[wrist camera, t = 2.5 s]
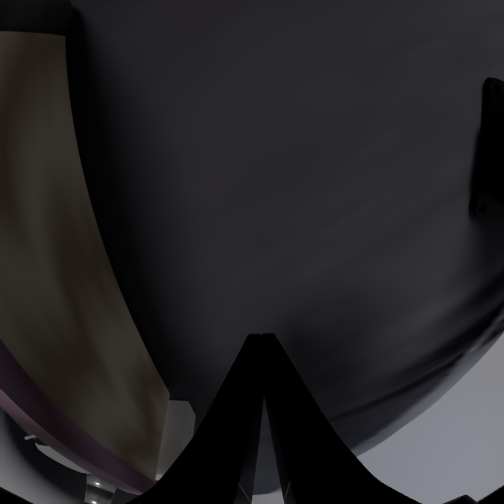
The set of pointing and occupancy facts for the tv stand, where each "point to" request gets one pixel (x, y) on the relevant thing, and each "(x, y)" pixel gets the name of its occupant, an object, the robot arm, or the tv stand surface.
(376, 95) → the tv stand surface
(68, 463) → the robot toy
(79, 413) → the beige flat panel
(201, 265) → the tv stand surface
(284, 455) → the robot arm
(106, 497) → the plastic bottle
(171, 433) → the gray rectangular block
